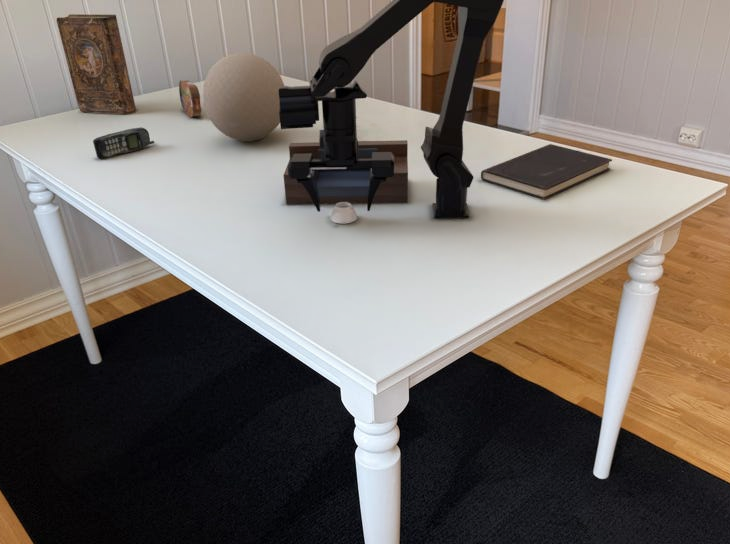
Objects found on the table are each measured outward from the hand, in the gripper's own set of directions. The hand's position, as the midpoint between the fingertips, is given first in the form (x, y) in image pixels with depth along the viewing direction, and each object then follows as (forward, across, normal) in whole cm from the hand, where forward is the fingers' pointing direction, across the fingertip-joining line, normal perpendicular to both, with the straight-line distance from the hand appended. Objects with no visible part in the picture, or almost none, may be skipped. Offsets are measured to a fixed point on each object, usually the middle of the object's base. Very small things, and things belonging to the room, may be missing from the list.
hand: (343, 210), depth 126 cm
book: (+2, +74, -81) cm, 110 cm away
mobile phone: (+2, +56, -43) cm, 71 cm away
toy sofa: (+2, 0, -14) cm, 14 cm away
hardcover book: (+2, -41, -22) cm, 47 cm away
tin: (+2, +48, -76) cm, 90 cm away
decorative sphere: (+2, +27, -51) cm, 58 cm away
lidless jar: (+2, 0, 0) cm, 2 cm away
